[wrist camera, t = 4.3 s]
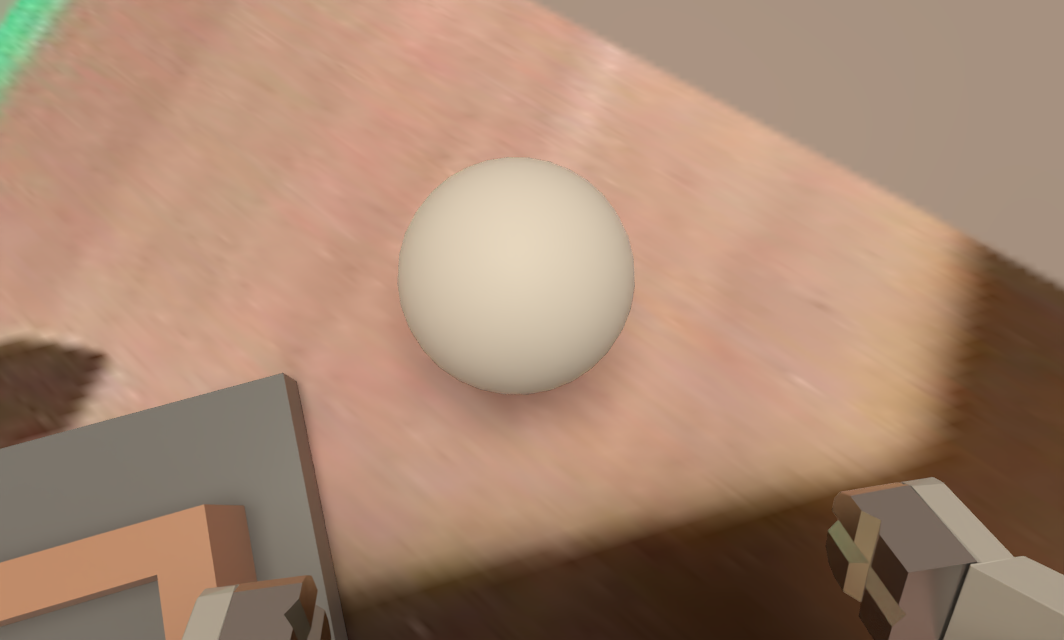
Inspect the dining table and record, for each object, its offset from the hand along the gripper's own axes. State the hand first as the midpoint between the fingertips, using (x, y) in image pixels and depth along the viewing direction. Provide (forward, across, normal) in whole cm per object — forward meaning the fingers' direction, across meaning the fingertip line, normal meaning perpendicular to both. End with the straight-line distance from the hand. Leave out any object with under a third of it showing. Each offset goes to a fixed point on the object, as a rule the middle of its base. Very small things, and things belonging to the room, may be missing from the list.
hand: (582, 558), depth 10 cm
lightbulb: (+14, 0, -5) cm, 15 cm away
